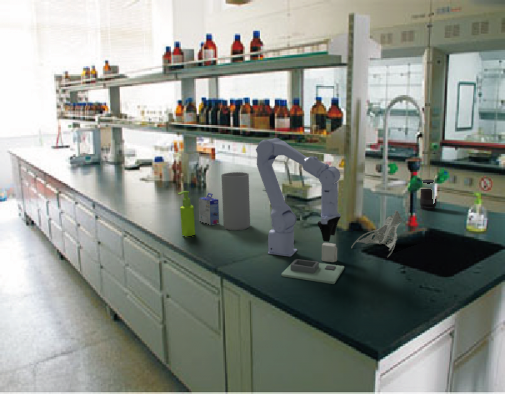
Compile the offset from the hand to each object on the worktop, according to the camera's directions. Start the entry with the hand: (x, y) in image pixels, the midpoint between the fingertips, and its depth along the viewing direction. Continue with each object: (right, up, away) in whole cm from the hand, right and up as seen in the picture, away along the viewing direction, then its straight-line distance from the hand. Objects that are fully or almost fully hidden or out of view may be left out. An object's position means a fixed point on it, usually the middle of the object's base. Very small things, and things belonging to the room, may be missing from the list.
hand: (329, 238), depth 156 cm
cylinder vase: (-35, +1, +47) cm, 58 cm away
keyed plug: (0, -8, +2) cm, 8 cm away
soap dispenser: (-57, -2, +36) cm, 67 cm away
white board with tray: (-7, -11, -9) cm, 16 cm away
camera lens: (+64, +8, +70) cm, 95 cm away
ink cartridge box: (-49, +2, +55) cm, 74 cm away
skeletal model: (+25, -5, +16) cm, 30 cm away
